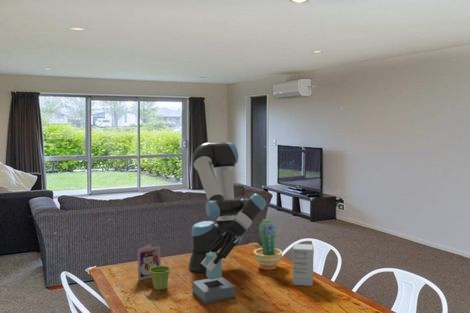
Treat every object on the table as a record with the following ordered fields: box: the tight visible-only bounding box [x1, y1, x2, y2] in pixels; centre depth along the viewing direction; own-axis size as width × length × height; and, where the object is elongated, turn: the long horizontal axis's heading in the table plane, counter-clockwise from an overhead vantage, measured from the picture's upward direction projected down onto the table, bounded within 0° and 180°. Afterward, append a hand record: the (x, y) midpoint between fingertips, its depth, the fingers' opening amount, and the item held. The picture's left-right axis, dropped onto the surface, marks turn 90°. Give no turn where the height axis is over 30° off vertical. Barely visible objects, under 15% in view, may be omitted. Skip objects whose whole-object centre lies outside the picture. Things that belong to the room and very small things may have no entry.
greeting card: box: [137, 243, 162, 281], centre depth 205 cm, size 11×7×15 cm, turn 123°
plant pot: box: [150, 265, 171, 291], centre depth 191 cm, size 9×9×9 cm
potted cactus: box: [252, 218, 284, 271], centre depth 217 cm, size 15×15×25 cm
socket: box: [192, 276, 236, 305], centre depth 182 cm, size 14×14×5 cm
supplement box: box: [292, 243, 314, 287], centre depth 196 cm, size 10×9×17 cm
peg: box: [205, 251, 223, 280], centre depth 180 cm, size 5×5×10 cm
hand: (205, 267), depth 179 cm, fingers closed on peg, 5 cm apart
